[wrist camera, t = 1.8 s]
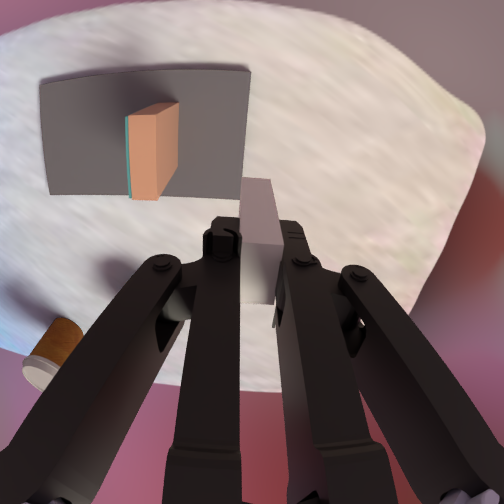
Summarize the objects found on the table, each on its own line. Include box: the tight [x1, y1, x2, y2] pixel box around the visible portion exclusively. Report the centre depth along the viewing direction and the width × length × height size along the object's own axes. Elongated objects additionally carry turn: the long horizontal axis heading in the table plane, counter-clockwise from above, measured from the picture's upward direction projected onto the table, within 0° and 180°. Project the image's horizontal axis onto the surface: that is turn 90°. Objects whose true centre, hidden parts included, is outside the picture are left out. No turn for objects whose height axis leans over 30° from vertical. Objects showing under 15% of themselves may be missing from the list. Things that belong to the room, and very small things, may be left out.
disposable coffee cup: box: [22, 318, 84, 392], centre depth 42 cm, size 10×10×12 cm
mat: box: [40, 69, 251, 200], centre depth 30 cm, size 24×14×1 cm, turn 85°
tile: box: [125, 102, 179, 201], centre depth 26 cm, size 2×7×9 cm, turn 175°
